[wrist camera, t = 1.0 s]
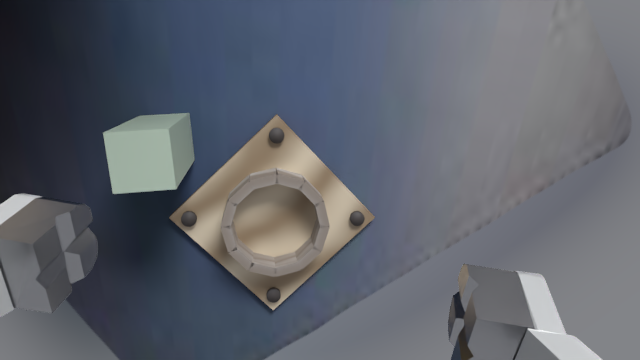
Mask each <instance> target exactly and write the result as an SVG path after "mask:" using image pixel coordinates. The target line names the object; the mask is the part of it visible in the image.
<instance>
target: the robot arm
mask: <svg viewBox="0 0 640 360" xmlns="http://www.w3.org/2000/svg"><path fill="white" fill-rule="evenodd" d="M92 221H93V218H92V214H91V210H90V208H89V207H88V206H86V205H85V204H82V203H76V202H71V201H65V200H60V199H54V198H49V197H41V196H36V195H30V194H24V193H22V194H15V195H13V196H12V197H11V198H9V199H8V200H6V201H5V202H3V203H2V204H0V317H2V316H3V315H5V314H7V313H9V312H11V311H12V310H14V308H19V309H26V310H33V311H39V312H46V313H53V312H54V311H55V310H56V309H57V308H58V307H59V305H60V304H61V303H62V302H63V301H64V300H65V299H66V298H67V297H68V295H69V294H70V293H71V292H72V283H74V282H76V281H78V280H80V279H83V278H85V276H86V275H87V274H88V273H89V272H90V271H91V269H92V268H93V265H94V263H95V260H96V258H97V252H98V244H97V238H96V236H95V235H94V234H93V233H92V231H91V230H90V229H89V228H88V227H89V226H90V224H91V223H92ZM458 282H459V292H458V293H456V294H455V295H453V298H452V302H451V306H450V312H449V320H448V332H449V341H450V342H451V344H452V345H453V346H454V347H455V348H454V351H453V354H452V357H451V360H602V359H601V358H600V357H599V356H597V355H596V354H595V353H594V352H593V351H592V350H590V349H589V348H588V347H587V346H586V345H585V344H583V343H582V342H581V341H580V340H579V339H577V338H576V337H575V336H571V335H567V334H566V332H565V329H564V327H563V324H562V322H561V319H560V316H559V314H558V311H557V309H556V306H555V304H554V301H553V299H552V296H551V294H550V291H549V289H548V286H547V284H546V281H545V279H544V277H543V276H542V275H541V274H536V273H529V272H521V271H507V270H501V269H494V268H488V267H481V266H475V265H468V264H463V266H462V268H461V271H460V274H459V277H458Z"/></svg>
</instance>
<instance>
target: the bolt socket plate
mask: <svg viewBox="0 0 640 360" xmlns="http://www.w3.org/2000/svg"><path fill="white" fill-rule="evenodd" d="M169 218H170V219H171V220H172V221H173V222H174V223H175V224H176V225H178V226H179V227H180V228H181V229H182V230H183V231H184V232H185V233H187V234H188V235H189V236H190V237H191V238H192V239H193V240H194V241H196V242H197V243H198V244H199V245H200V246H201V247H202V248H203V249H205V250H206V251H207V252H208V253H209V254H210V255H211V256H212V257H214V258H215V259H216V260H217V261H218V262H219V263H220V264H221V265H223V266H224V267H225V268H226V269H227V270H228V271H229V272H230V273H232V274H233V275H234V276H235V277H236V278H237V279H238V280H239V281H241V282H242V283H243V284H244V285H245V286H246V287H247V288H248V289H250V290H251V291H252V292H253V293H254V294H255V295H256V296H257V297H259V298H260V299H261V300H262V301H263V302H264V303H265V304H267V305H268V306H269V307H270V308H271V309H272V310H274V309H275V308H276V307H277V306H279V305H280V304H281V303H282V302H283V301H284V300H285V299H286V298H287V297H288V296H290V295H291V294H292V293H293V292H294V291H295V290H296V289H297V288H298V287H299V286H300V285H302V284H303V283H304V282H305V281H306V280H307V279H308V278H309V277H310V276H311V275H312V274H314V273H315V272H316V271H317V270H318V269H319V268H320V267H321V266H322V265H323V264H325V263H326V262H327V261H328V260H329V259H330V258H331V257H332V256H333V255H334V254H335V253H337V252H338V251H339V250H340V249H341V248H342V247H343V246H344V245H345V244H346V243H348V242H349V241H350V240H351V239H352V238H353V237H354V236H355V235H356V234H357V233H358V232H360V231H361V230H362V229H363V228H364V227H365V226H366V225H367V224H368V223H369V222H371V221H372V220H373V219H374V218H375V217H374V216H373V215H372V214H371V213H370V211H369V210H368V209H367V208H366V207H365V206H364V205H363V204H362V203H361V202H360V201H359V200H358V199H357V198H356V197H355V196H354V195H353V194H352V193H351V192H350V191H349V189H348V188H347V187H346V186H345V185H344V184H343V183H342V182H341V181H340V180H339V179H338V178H337V177H336V176H335V175H334V174H333V173H332V172H331V171H330V170H329V169H328V167H327V166H326V165H325V164H324V163H323V162H322V161H321V160H320V159H319V158H318V157H317V156H316V155H315V154H314V153H313V152H312V151H311V150H310V149H309V148H308V147H307V145H306V144H305V143H304V142H303V141H302V140H301V139H300V138H299V137H298V136H297V135H296V134H295V133H294V132H293V131H292V130H291V129H290V128H289V127H288V126H287V125H286V123H285V122H284V121H283V120H282V119H281V118H280V117H279V116H278V115H277V114H276V115H275V116H274V117H273V118H272V119H271V120H270V121H269V122H268V123H267V124H266V125H265V126H264V127H263V128H262V129H261V130H260V131H259V132H257V133H256V134H255V135H254V136H253V137H252V138H251V139H250V140H249V141H248V142H247V143H246V144H245V145H244V146H243V147H242V148H241V149H240V150H239V151H238V152H237V153H235V154H234V155H233V156H232V157H231V158H230V159H229V160H228V161H227V162H226V163H225V164H224V165H223V166H222V167H221V168H220V169H219V170H218V171H217V172H216V173H215V174H213V175H212V176H211V177H210V178H209V179H208V180H207V181H206V182H205V183H204V184H203V185H202V186H201V187H200V188H199V189H198V190H197V191H196V192H195V193H194V194H192V195H191V196H190V197H189V198H188V199H187V200H186V201H185V202H184V203H183V204H182V205H181V206H180V207H179V208H178V209H177V210H176V211H175V212H174V213H173V214H172V215H170V217H169Z"/></svg>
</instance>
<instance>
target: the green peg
mask: <svg viewBox="0 0 640 360" xmlns="http://www.w3.org/2000/svg"><path fill="white" fill-rule="evenodd" d="M103 136H104V142H105V148H106V154H107V161H108V167H109V173H110V179H111V185H112V192H113V194H120V193H133V192H146V191H160V190H173V189H177V187H178V186H179V184H180V182H181V181H182V179H183V178H184V176H185V175H186V173H187V171H188V170H189V168H190V167H191V165H192V163H193V162H194V160H195V158H194V149H193V141H192V132H191V123H190V114H189V113H179V114H162V115H145V116H138V117H136V118H134V119H132V120H129V121H127V122H125V123H123V124H121V125H119V126H116V127H114V128H112V129H110V130H108V131H106V132H104V133H103Z"/></svg>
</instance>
